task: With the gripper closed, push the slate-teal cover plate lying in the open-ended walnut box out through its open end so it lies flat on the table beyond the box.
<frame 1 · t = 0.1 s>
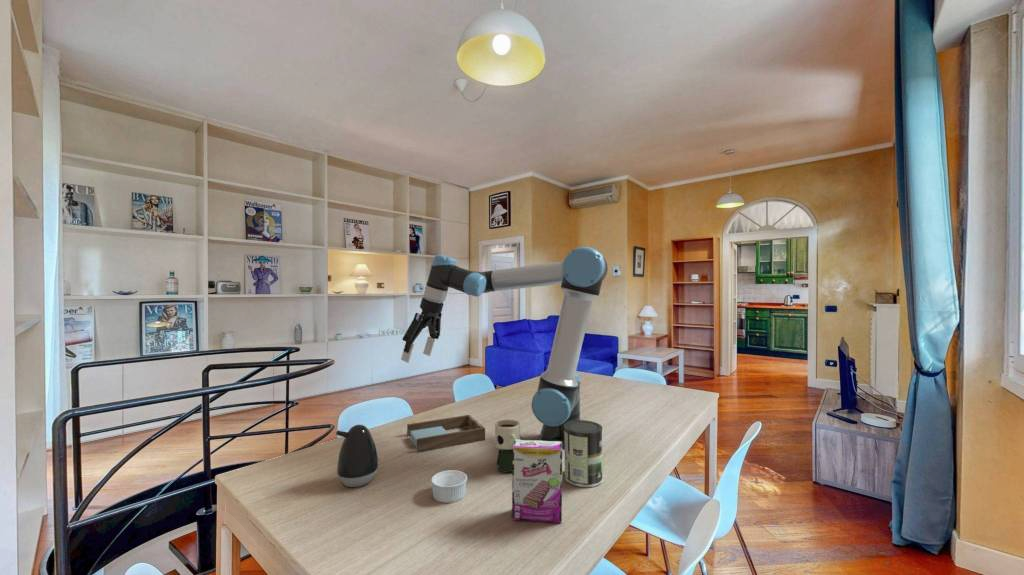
hand: (416, 357, 135), 28 cm above the table, tool tilted 20°, fingers open, 13 cm apart
candy bar box: (537, 517, 88), on the table
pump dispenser: (357, 483, 104), on the table
cover plate: (429, 442, 132), resting in walnut box
ramekin: (449, 496, 97), on the table
character mug: (507, 469, 111), on the table
walnut box: (445, 437, 135), on the table
coffee can: (583, 479, 105), on the table
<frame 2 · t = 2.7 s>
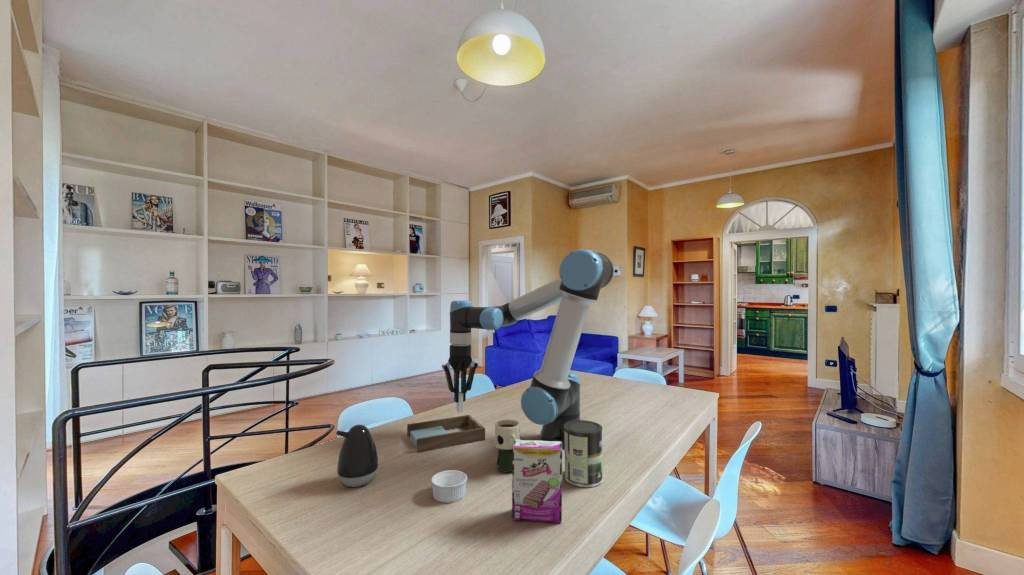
hand: (459, 410, 138), 8 cm above the table, tool pointing down, fingers closed
nothing on the table moved.
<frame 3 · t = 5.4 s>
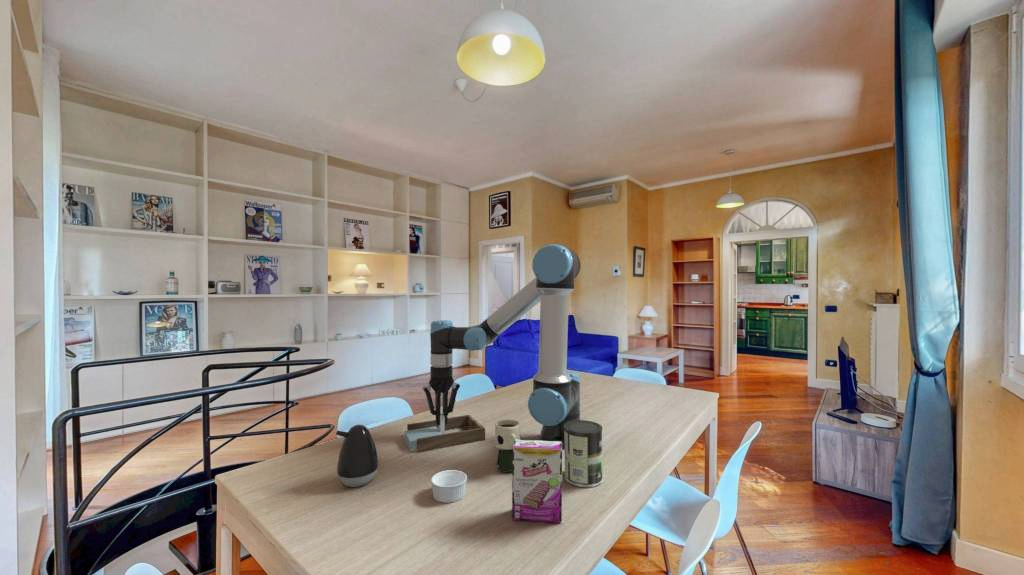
hand: (441, 433, 134), 2 cm above the table, tool pointing down, fingers closed
cover plate: (423, 442, 131), resting in walnut box, touching gripper
everything else where it was.
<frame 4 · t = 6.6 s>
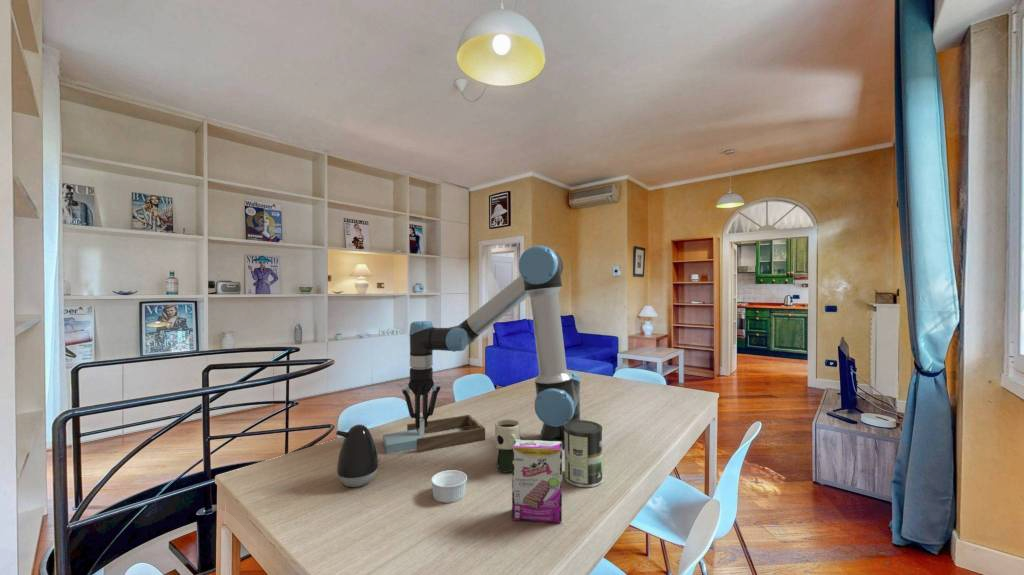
hand: (421, 437, 131), 2 cm above the table, tool pointing down, fingers closed
cover plate: (402, 446, 129), on the table
everything else where it was.
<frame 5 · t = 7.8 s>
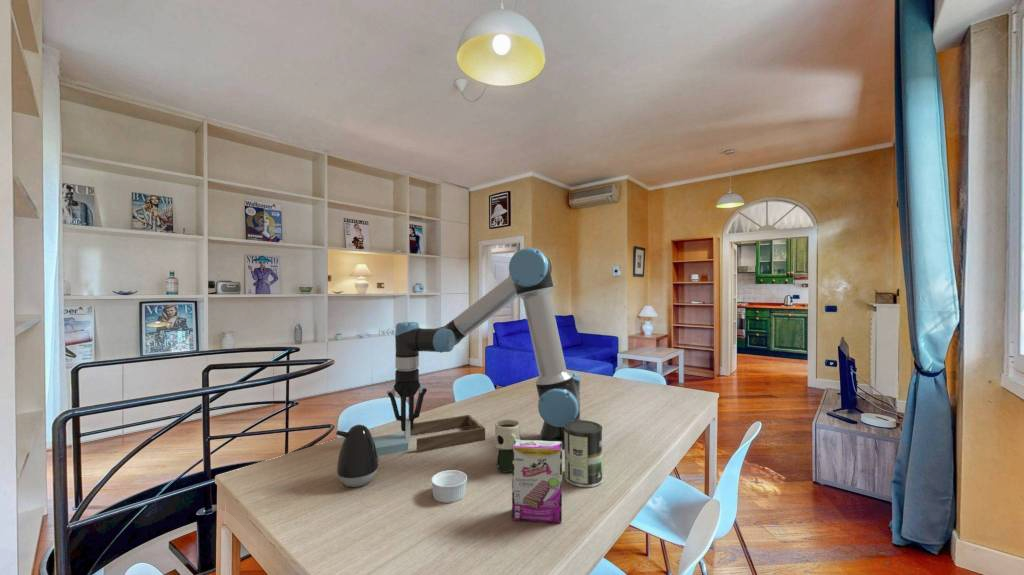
hand: (407, 439, 129), 1 cm above the table, tool pointing down, fingers closed
cover plate: (387, 449, 126), on the table, touching gripper
everything else where it was.
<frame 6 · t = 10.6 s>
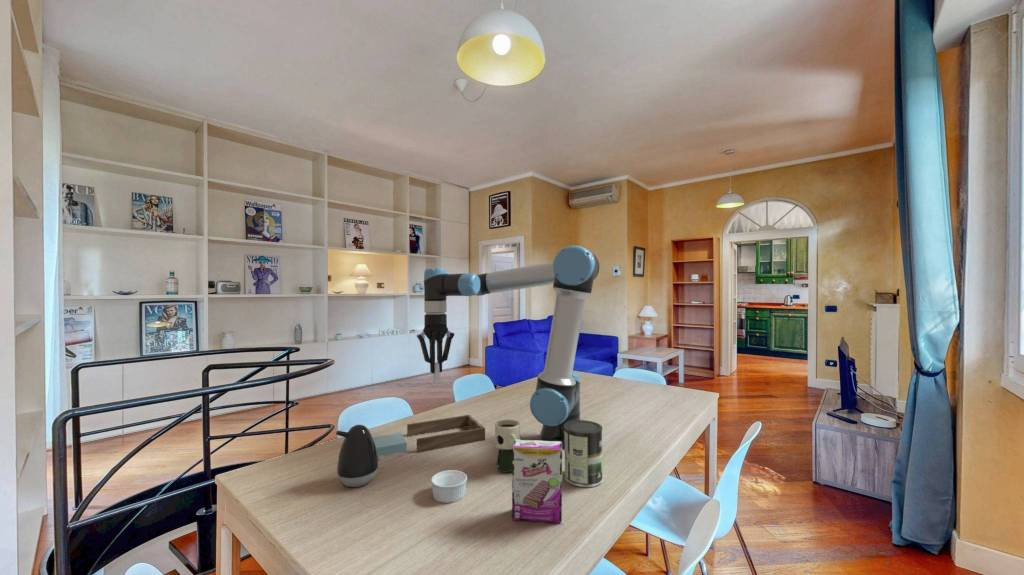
hand: (436, 382, 134), 20 cm above the table, tool pointing down, fingers closed
cover plate: (386, 449, 126), on the table
everything else where it was.
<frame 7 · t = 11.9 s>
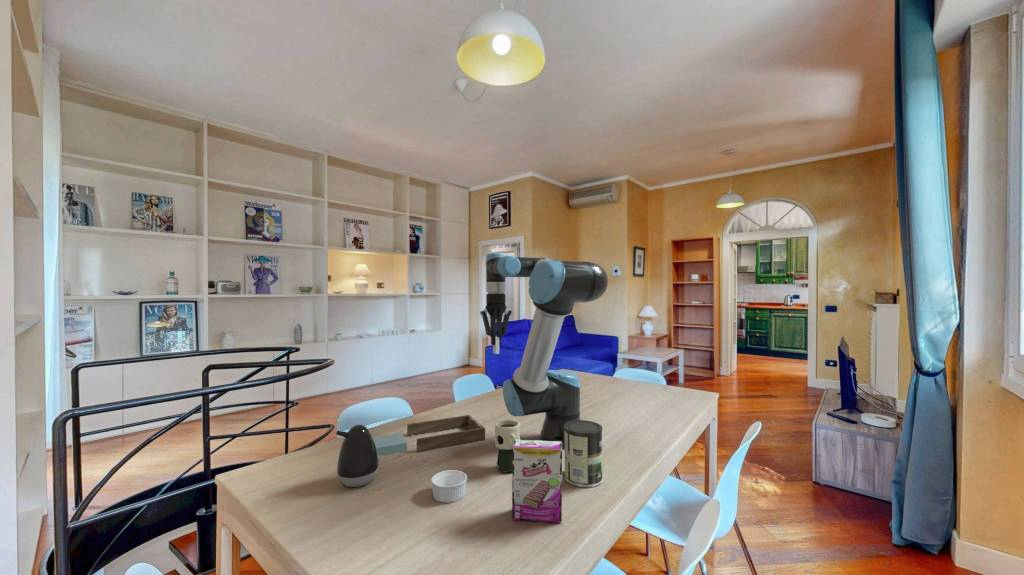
hand: (496, 353, 152), 26 cm above the table, tool pointing down, fingers closed
nothing on the table moved.
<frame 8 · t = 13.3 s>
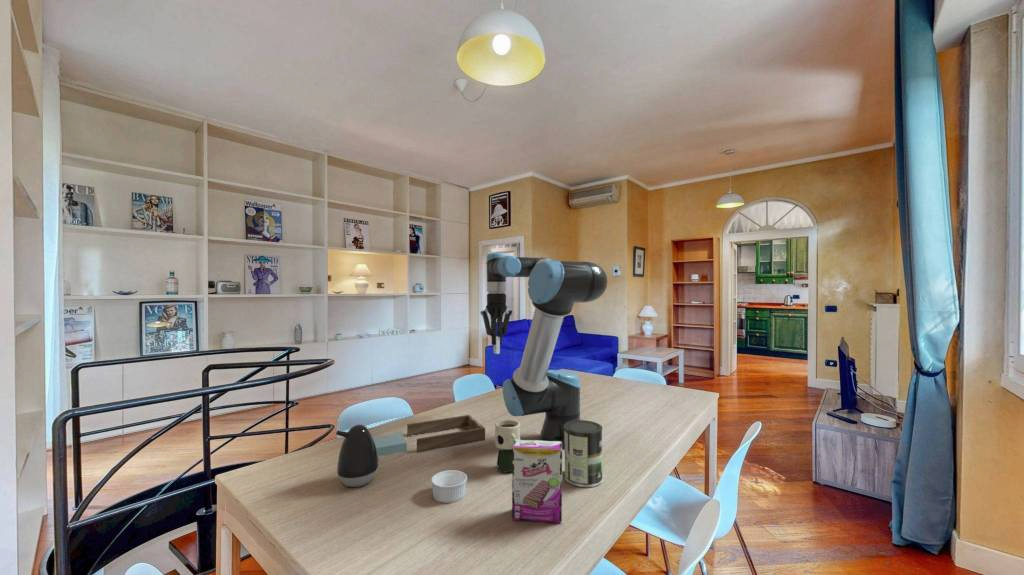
hand: (496, 353, 152), 26 cm above the table, tool pointing down, fingers closed
nothing on the table moved.
at the end: cover plate inside the target area (1.7 cm from its centre), on the table; cover plate tilted 0°; cover plate touching table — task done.
